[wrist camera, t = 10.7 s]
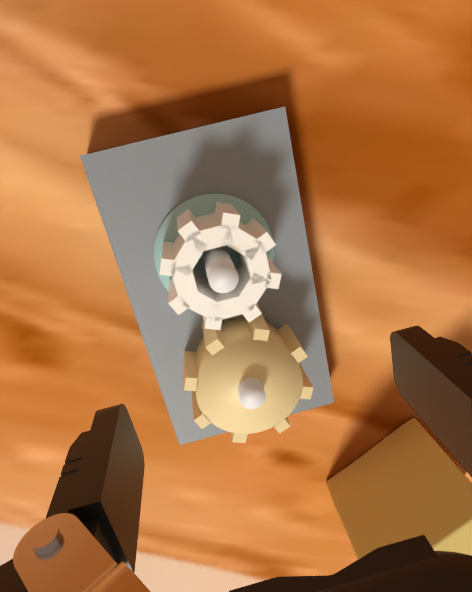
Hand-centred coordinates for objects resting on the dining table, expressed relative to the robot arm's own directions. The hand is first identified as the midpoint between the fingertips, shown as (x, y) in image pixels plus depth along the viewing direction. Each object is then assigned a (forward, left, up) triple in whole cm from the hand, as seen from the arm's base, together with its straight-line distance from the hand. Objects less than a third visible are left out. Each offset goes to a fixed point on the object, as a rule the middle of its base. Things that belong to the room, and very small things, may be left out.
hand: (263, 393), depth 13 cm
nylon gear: (0, 0, -16) cm, 16 cm away
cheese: (-11, +25, -18) cm, 33 cm away
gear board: (0, +3, -18) cm, 18 cm away
